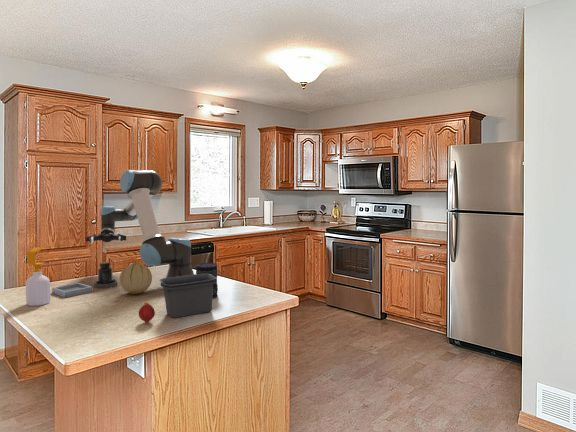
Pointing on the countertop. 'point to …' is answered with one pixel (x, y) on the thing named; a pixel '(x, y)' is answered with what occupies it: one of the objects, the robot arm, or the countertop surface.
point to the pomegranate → (146, 312)
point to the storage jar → (209, 269)
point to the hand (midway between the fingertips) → (105, 240)
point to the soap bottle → (37, 283)
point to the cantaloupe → (135, 278)
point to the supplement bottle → (105, 273)
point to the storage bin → (188, 294)
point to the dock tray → (71, 290)
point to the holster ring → (97, 285)
